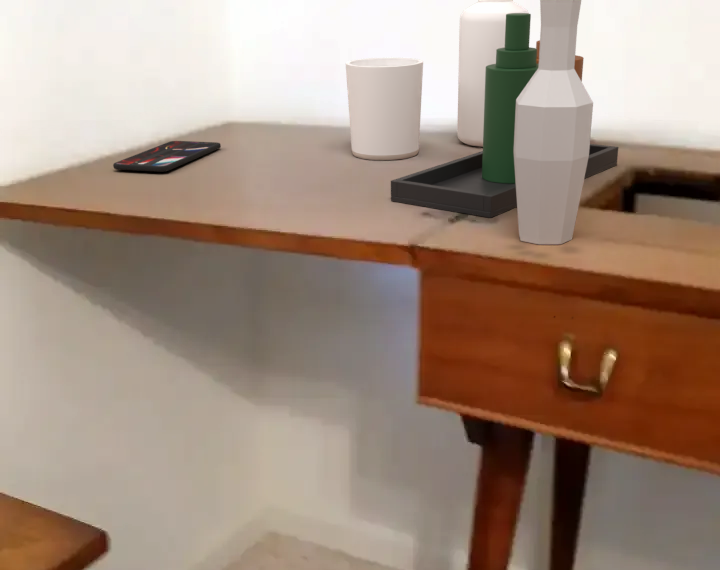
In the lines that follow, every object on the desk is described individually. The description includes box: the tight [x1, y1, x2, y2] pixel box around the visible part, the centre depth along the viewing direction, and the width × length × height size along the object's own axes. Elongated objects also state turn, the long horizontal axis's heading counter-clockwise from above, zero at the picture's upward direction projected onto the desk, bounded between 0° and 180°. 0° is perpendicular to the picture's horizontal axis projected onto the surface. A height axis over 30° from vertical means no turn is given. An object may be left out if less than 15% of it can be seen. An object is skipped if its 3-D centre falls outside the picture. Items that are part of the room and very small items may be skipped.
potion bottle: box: [456, 0, 529, 148], centre depth 117 cm, size 8×8×18 cm
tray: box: [390, 143, 620, 219], centre depth 102 cm, size 12×27×2 cm, turn 141°
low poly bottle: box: [514, 0, 594, 245], centre depth 79 cm, size 6×6×22 cm
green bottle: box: [482, 12, 539, 184], centre depth 99 cm, size 6×6×16 cm
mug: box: [345, 57, 424, 161], centre depth 115 cm, size 11×9×10 cm
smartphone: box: [112, 140, 222, 173], centre depth 117 cm, size 7×1×15 cm
